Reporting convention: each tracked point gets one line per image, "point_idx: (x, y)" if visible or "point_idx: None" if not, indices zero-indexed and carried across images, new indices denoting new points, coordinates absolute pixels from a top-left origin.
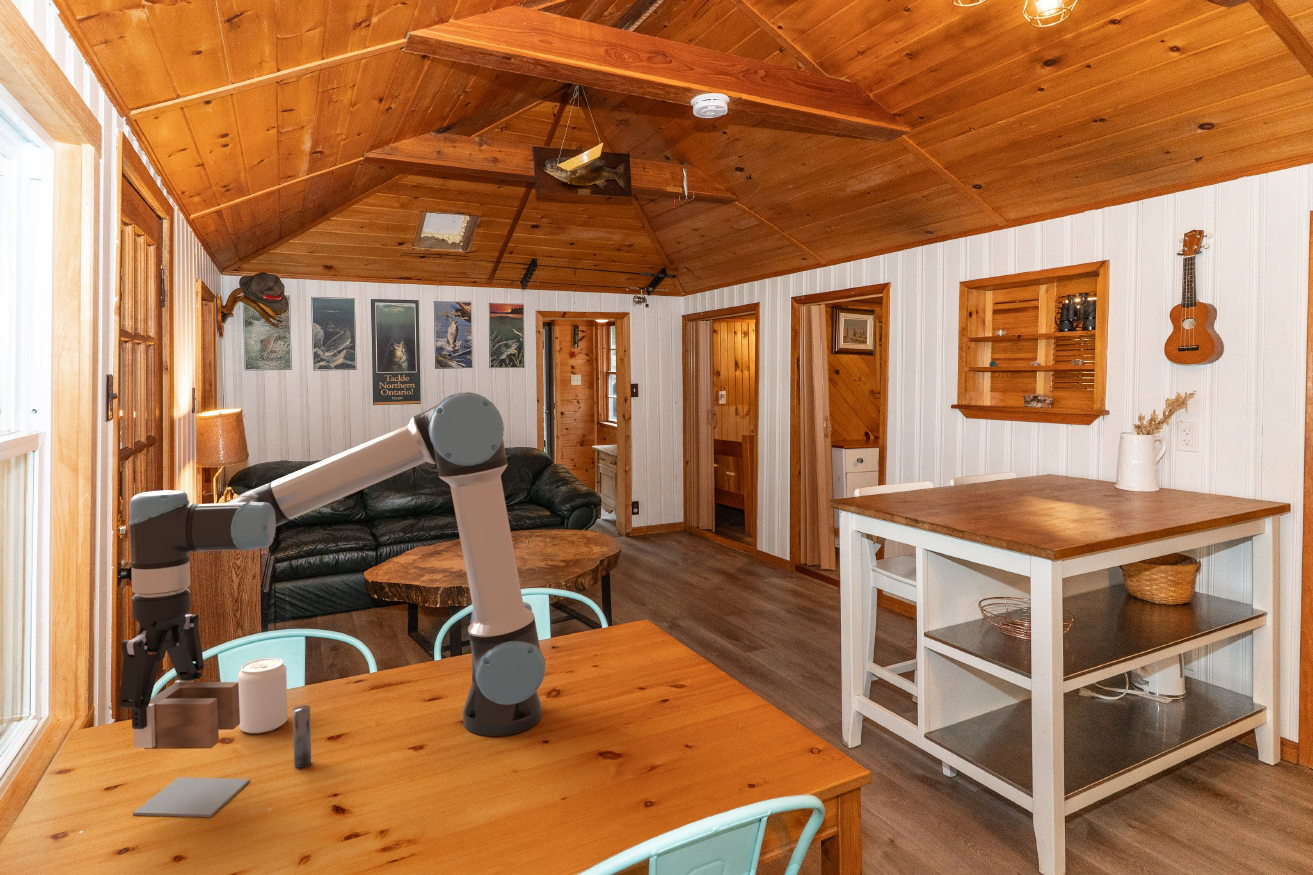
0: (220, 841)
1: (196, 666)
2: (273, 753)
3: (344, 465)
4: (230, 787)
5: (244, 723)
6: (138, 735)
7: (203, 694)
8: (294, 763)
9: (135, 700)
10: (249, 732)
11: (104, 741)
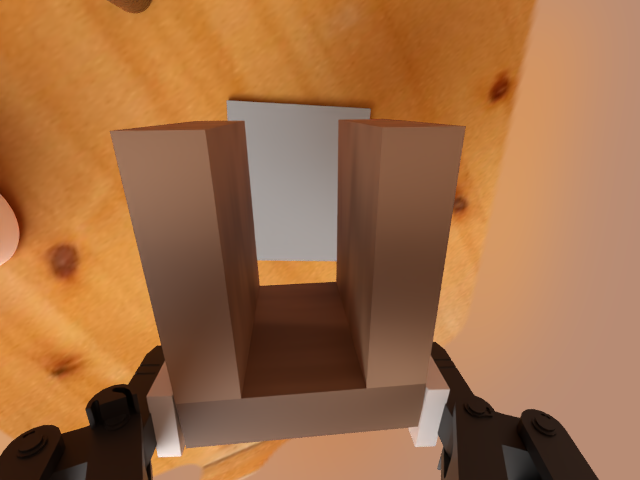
0: (459, 30)
1: (53, 469)
2: (91, 113)
3: None
4: (265, 126)
5: (2, 248)
6: None
7: (236, 280)
8: (141, 6)
9: (574, 448)
10: (18, 226)
11: None
